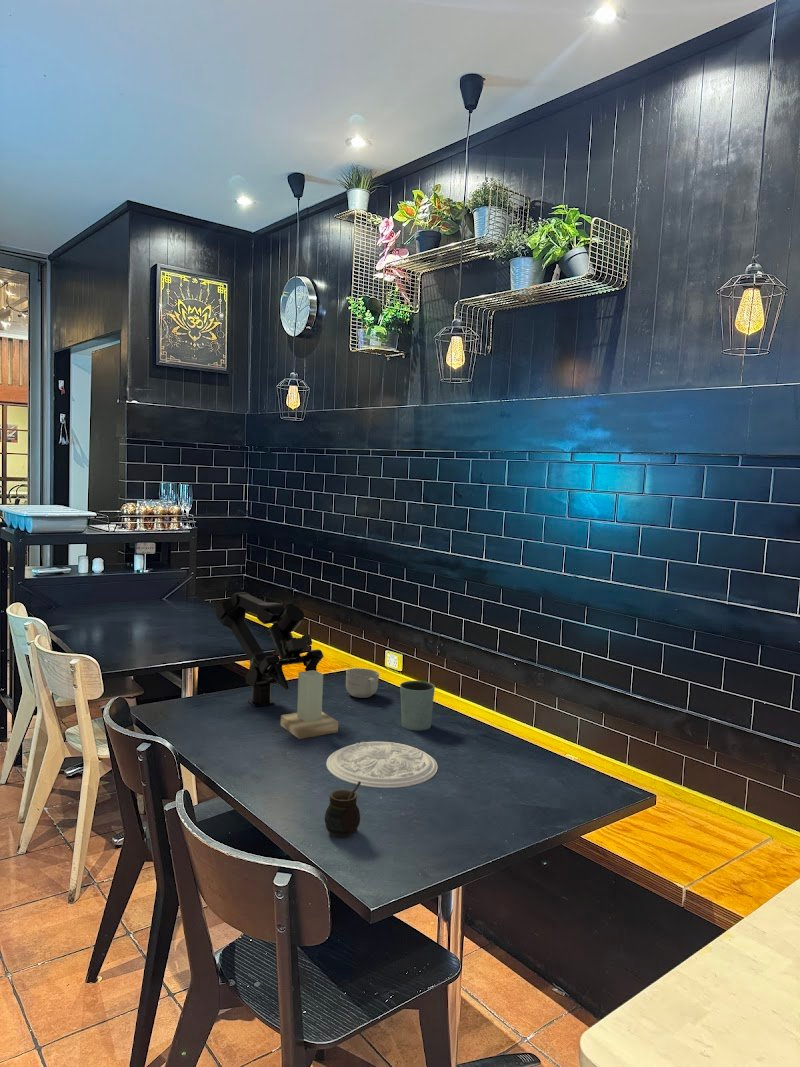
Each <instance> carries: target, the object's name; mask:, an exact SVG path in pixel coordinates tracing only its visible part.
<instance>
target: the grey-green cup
mask: <svg viewBox="0 0 800 1067" xmlns="http://www.w3.org/2000/svg"><path fill="white" fill-rule="evenodd" d="M435 688H436V687H435V684H433V683H431V682H429V681H423V680H407V681H403V682H401V683H400V685H399V690H400V692H399V694H400V711H401V712H400V714H401V717H400V718H401V725H402V727H403V728H404V729H407V730H411V731H417V732H418V731H427V730H429V729H430V728H431V726H432V719H433V718H432V717H433V707H434V699H435V698H434V696H435Z"/></svg>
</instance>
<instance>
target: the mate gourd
mask: <svg viewBox="0 0 800 1067" xmlns="http://www.w3.org/2000/svg"><path fill="white" fill-rule="evenodd" d="M360 783H361V782H360V781H359V782H358V784H357V785H356V784H355V787H354V788H353V790H349V789H336V790H333V791H332V792H330V794H329V805H328V807H327V809H326V810H325V813H324V823H325V828H326V830H327V832H329V834H331V835H332V836H334V837H337V838H346V837H347V838H348V837H350V836H351V835H353V834H354V833H356V832H357V830H358V827H359V826H360V823H361V822H360V821H361V813H360V809H359V807H358V804H357V801H358V795H357V793H356V791H357V789H358V788H359V786H361V785H360Z"/></svg>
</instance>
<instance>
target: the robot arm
mask: <svg viewBox="0 0 800 1067" xmlns="http://www.w3.org/2000/svg"><path fill="white" fill-rule="evenodd" d="M247 611H249V612H250V613H251V614H254V615H255V616H256V619H257V620H259V621H260V622H261V623H262V624H263V625H267V624H269V625H270V624H272V625H271V626H269V627H268V631H267V633H266V636H267V637H271V638H272V640H273V643H274V646H275V647H274V649H273V650H274V651H273V652H275V653H277V654H278V655H277V654H274V653H272V652H271V651H269V652H264V650H263V649H262V647H261V645H260V643H259V641H257V639H256V637H255V636H254V634H253V633H252V630H251V629H250V628H249V626H248V624H247V623H246V621H245V619H246V614H247ZM304 613H305V612H304V610H302V609H301V608H300V607H298V606H296V605H295V604H294V602H287V603H286V604H285V606H284V605H283V604H282V603H280V602H266V601H264V600H262V599H260V598H257V597H255V596H253V595H251V594H250V593H249V592H246V591H245V592H243V591H242V592H235V593H233V594H231V596H230V597H229V598H227V599H226V600H224V601H222V602H221V603H220V605H219V606H218V607H217V608H216V610H215V615H216V618H217V620H218V621H219V622H220V623H221V625H222V626H224V627H225V628H227V629H229V630H231V632H232V633H233V635H234V637H235V638H236V640H237V642H238V644H239V645H240V647H241V648H242V650H243V652H244V653H245V656H246V657H247V659H248V661H249V668H248V673H247V674H246V675H245V684H246V685H248V686H251V698H248V699H247V702H248V703H250V704H251V705H252V706H253V707H262V706H263V707H264V706H269V705H270V706H271V705H275V703H276V702H275V701H274V700H272V698H271V696H272V693H271V691H272V690H271V688H272V684H279V685H280V686H281V688H284V689H285V691H288V690H289V689H290V688H289V683H288V681H287V678H286V676H285V673H284V670H283V666H289V665H296V664H303V666H304V667H305V668H304V670H305V671H311V670H315V671H317V668H318V667H317V666H318V664H319V663H320V662H321V660H322V659H323V658H324V656H325V655H324V653H323V651H322V650H321V649H312V650H308V651H307V653H305V655H301V654H303V653H304V650H305V649H308V648H309V646H312V644H313V640H312V637H311V636H310V634H304V635H302V636H301V637H293V633H292V632H294V631H295V630H296V629H297V628H298V627H299V626H300V624H301V623H302V621H304V618H305V614H304Z"/></svg>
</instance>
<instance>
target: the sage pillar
mask: <svg viewBox="0 0 800 1067" xmlns="http://www.w3.org/2000/svg"><path fill="white" fill-rule="evenodd" d="M297 676H298V678H297V706H296V707H297V709H296V713H297V718H299V719H301V720H303V721H304V722H311V721H316V720H321V719H322V712H323V690H324V674H323V673H322V672H319V671H317V670H316V671H315V670H311V671H306V670H305V671H300V672H298V675H297Z"/></svg>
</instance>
